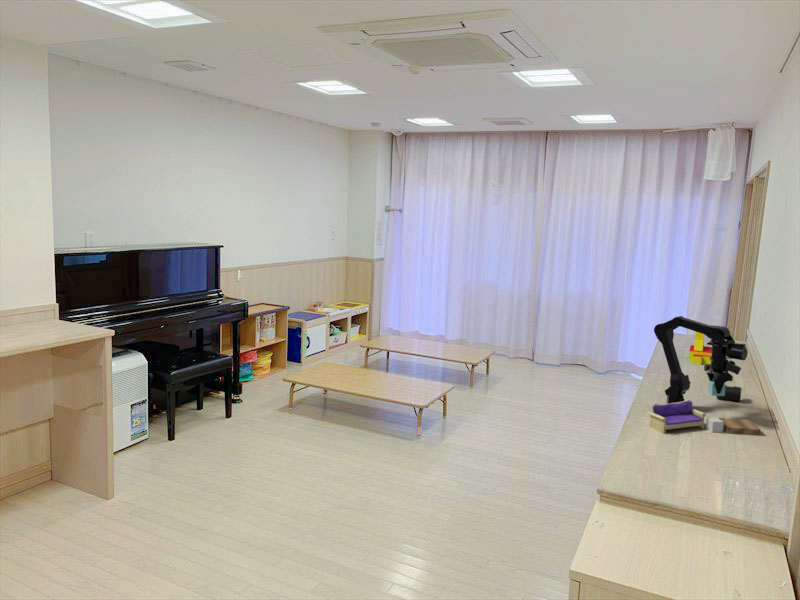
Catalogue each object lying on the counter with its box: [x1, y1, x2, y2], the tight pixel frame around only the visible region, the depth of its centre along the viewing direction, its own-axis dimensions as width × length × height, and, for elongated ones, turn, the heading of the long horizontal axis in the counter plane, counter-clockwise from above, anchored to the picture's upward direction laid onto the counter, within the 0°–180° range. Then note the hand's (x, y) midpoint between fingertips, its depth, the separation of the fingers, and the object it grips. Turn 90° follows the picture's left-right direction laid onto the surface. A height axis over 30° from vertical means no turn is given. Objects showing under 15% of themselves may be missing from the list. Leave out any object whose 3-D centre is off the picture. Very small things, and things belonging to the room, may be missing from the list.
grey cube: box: [705, 417, 724, 433], centre depth 249 cm, size 4×4×4 cm
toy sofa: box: [648, 399, 707, 434], centre depth 251 cm, size 21×9×10 cm, turn 107°
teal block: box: [708, 380, 726, 397], centre depth 262 cm, size 5×5×5 cm
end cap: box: [715, 384, 742, 403], centre depth 289 cm, size 10×7×7 cm
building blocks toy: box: [688, 331, 712, 366], centre depth 366 cm, size 19×25×18 cm
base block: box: [718, 417, 761, 437], centre depth 250 cm, size 12×12×3 cm
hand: (716, 391), depth 262 cm, fingers closed on teal block, 5 cm apart
